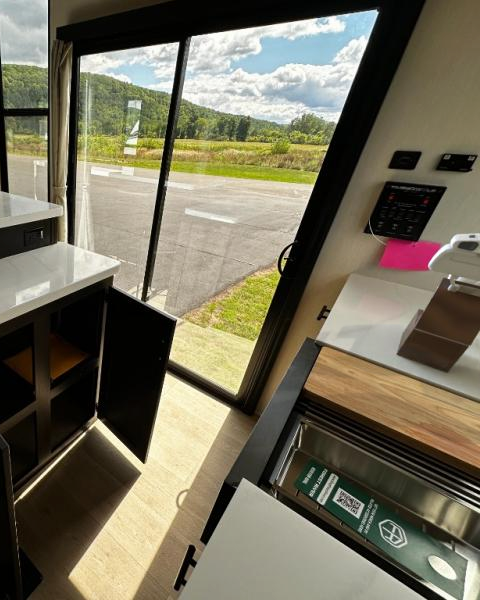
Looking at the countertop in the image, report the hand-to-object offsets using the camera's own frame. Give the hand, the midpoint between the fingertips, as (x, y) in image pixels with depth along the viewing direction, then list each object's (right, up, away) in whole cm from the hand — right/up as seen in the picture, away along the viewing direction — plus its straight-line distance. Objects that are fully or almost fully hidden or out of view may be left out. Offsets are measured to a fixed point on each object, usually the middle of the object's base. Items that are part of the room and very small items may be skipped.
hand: (467, 294), depth 85 cm
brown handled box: (0, -4, +3) cm, 5 cm away
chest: (+3, -18, +14) cm, 23 cm away
